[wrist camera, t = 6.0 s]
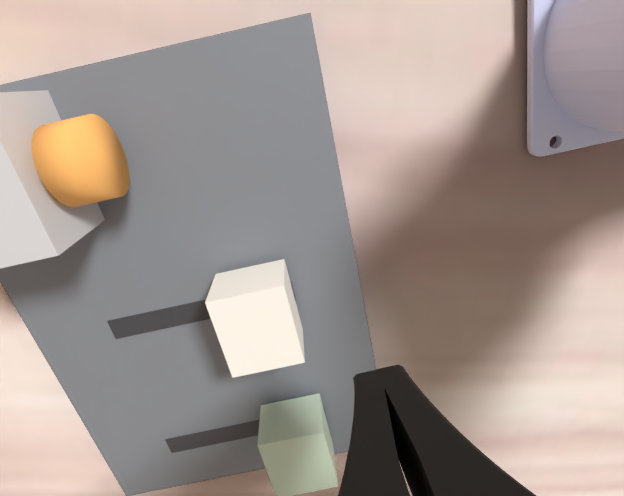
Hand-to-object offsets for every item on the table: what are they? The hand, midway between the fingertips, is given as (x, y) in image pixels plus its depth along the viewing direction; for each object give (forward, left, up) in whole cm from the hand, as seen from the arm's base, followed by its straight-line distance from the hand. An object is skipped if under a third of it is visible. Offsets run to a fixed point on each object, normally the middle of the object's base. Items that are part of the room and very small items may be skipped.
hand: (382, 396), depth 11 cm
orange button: (+7, -8, -7) cm, 13 cm away
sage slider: (+4, +7, -7) cm, 11 cm away
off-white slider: (+4, 0, -7) cm, 8 cm away
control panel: (+7, 0, -8) cm, 11 cm away
